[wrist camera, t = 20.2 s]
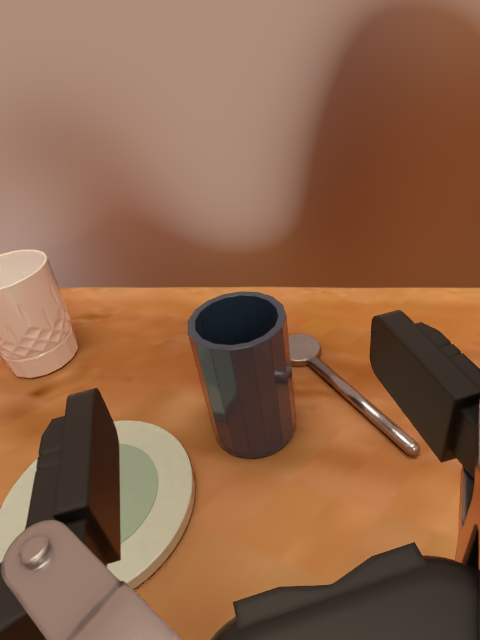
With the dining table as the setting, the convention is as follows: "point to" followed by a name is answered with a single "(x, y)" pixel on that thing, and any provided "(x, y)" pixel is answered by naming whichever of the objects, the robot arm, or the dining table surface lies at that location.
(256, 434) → the tumbler
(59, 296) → the white cup
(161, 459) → the side plate
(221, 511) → the dining table surface
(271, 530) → the dining table surface
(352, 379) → the dining table surface
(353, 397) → the spoon
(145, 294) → the dining table surface
